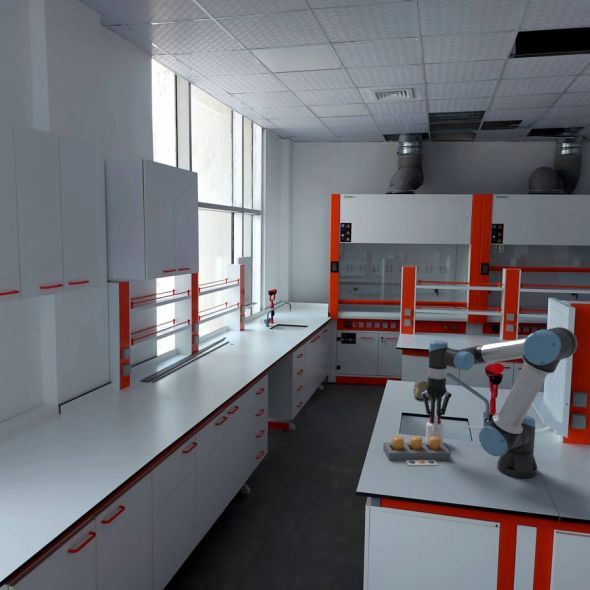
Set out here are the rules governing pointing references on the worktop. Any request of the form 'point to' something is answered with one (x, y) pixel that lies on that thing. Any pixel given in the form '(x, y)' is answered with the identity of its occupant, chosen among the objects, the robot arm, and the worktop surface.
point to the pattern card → (421, 463)
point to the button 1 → (398, 443)
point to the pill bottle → (431, 433)
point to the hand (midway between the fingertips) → (434, 430)
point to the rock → (420, 389)
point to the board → (416, 452)
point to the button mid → (416, 443)
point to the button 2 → (434, 443)
